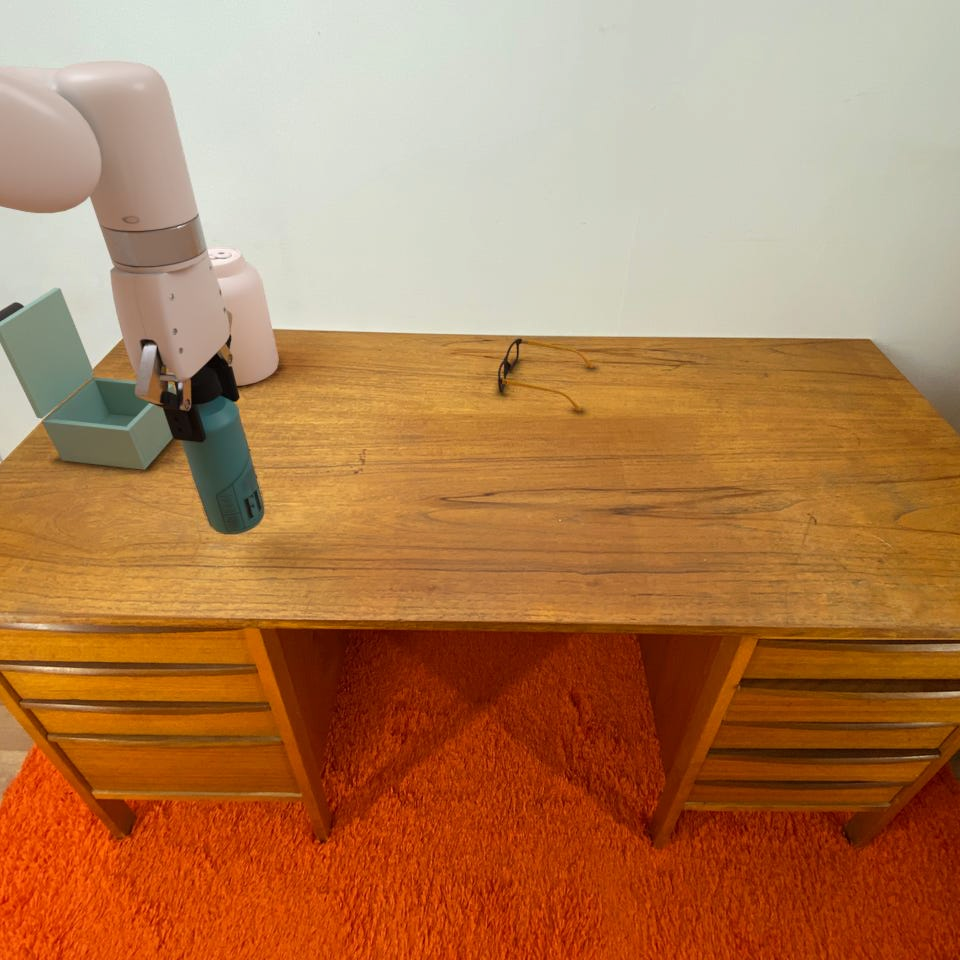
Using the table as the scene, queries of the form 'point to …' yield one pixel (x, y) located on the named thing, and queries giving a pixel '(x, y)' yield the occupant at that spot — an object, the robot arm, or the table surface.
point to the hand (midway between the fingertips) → (207, 417)
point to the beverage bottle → (222, 460)
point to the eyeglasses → (503, 381)
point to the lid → (44, 350)
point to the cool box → (109, 425)
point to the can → (245, 316)
